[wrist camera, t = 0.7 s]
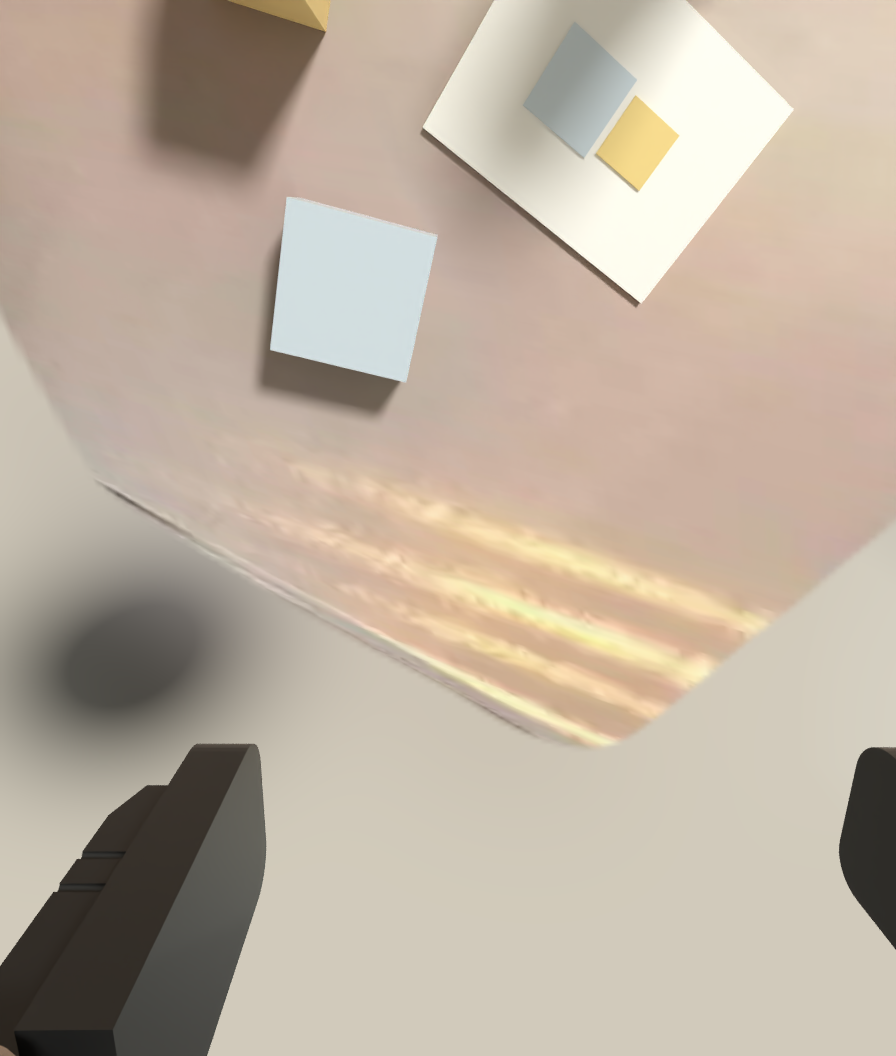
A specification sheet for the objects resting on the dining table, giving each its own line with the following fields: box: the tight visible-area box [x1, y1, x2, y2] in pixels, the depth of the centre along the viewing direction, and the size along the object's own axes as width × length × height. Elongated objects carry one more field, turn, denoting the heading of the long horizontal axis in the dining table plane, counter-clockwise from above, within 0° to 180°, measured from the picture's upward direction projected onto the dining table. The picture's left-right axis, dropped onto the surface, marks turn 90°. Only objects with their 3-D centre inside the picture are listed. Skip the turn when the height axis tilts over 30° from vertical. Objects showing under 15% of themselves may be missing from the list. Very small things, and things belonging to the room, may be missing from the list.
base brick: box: [270, 197, 437, 382], centre depth 27 cm, size 6×6×3 cm
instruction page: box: [423, 0, 794, 303], centre depth 25 cm, size 12×9×1 cm
